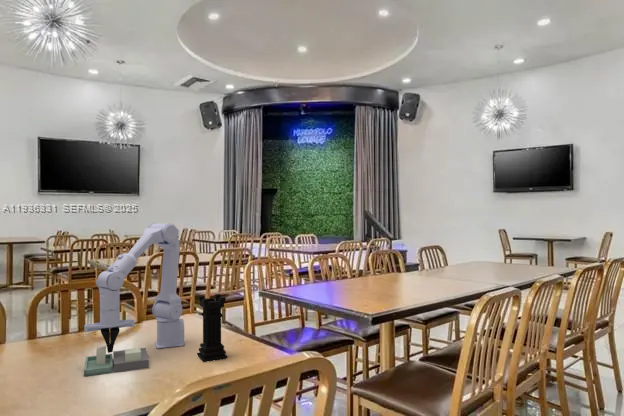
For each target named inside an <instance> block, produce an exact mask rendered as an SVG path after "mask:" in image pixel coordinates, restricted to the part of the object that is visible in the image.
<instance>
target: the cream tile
mask: <svg viewBox="0 0 624 416" xmlns="http://www.w3.org/2000/svg"><path fill="white" fill-rule="evenodd" d="M95 353H96V355H95V356H96V365H98V364H105V362H106V354H107V345H98V346H97V347H96V351H95Z"/></svg>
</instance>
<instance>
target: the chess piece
mask: <svg viewBox="0 0 624 416" xmlns="http://www.w3.org/2000/svg"><path fill="white" fill-rule="evenodd" d="M226 300H227V299H226V297H225V296H222V294H220V293H217V294H216V293H215V294H214V298H213V297H212V298H208V297H207V298H205V295H198V301H199V306H200V307H201V308H202V312H201V316H202V343H199V347H200V348H199V347H198V352H196V356H197V355H198V356H197V357H198V358H199V359H200V361H201V360H202V361H203V362H202V361H201V362H202V363H208V362H207V361H209V362H214V361H213V360H215V361H221V360H226V358H227V359H228V355H227V354H226V353H227V352H226V349H225V345H224V344H223V343H222V318H223V316H224V314H223V313H222V308H225V302H226ZM220 359H221V360H220Z"/></svg>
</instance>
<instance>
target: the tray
mask: <svg viewBox="0 0 624 416" xmlns="http://www.w3.org/2000/svg"><path fill="white" fill-rule="evenodd" d="M84 361H85V362H84V369H83V377H90V376H91V377H92V376H99V375H105V374H114V365H113V353H106V362H105V364H98V365H96V355H92V356H89V355H88V356H86V357H85V360H84Z"/></svg>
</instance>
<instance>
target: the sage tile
mask: <svg viewBox="0 0 624 416" xmlns="http://www.w3.org/2000/svg"><path fill="white" fill-rule="evenodd" d="M140 348H141V347H135V348H127V349H124V350H125V362H130V361H137V360H141V350H140Z"/></svg>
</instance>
